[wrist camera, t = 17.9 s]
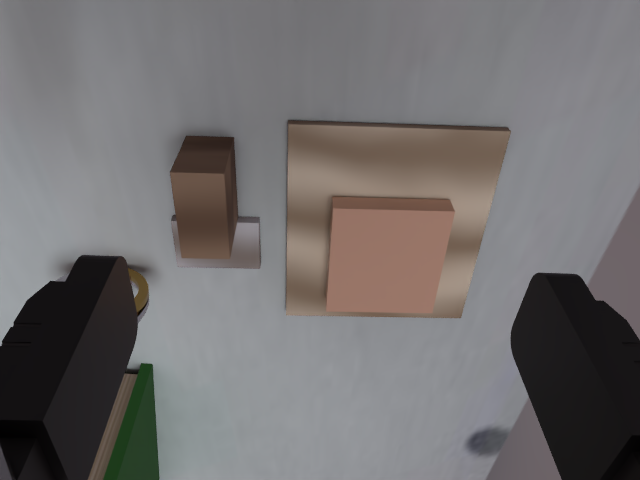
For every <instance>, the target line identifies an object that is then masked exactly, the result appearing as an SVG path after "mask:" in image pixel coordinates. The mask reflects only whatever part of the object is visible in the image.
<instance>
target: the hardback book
mask: <svg viewBox="0 0 640 480" xmlns="http://www.w3.org/2000/svg"><path fill="white" fill-rule="evenodd" d="M88 480H159V466H158V449H157V432H156V415H155V399H154V382H153V365H152V364H143V363H141V366H140V369H139V372H138V374H124V377H123V380H122V382H121V385H120V388H119V391H118V394H117V397H116V400H115V403H114V406H113V409H112V411H111V414H110V417H109V420H108V423H107V426H106V429H105V432H104V435H103V437H102V440H101V443H100V446H99V449H98V452H97V455H96V458H95V461H94V463H93V466H92V469H91V472H90V475H89V478H88Z"/></svg>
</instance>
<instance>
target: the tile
mask: <svg viewBox="0 0 640 480" xmlns="http://www.w3.org/2000/svg"><path fill="white" fill-rule="evenodd" d="M454 214H455V210H454V208H453V206H452V203H451V201H450V200H436V199H399V198H361V197H332V207H331V222H330V237H329V252H328V267H327V282H326V297H325V299H326V312H384V313H432V312H433V308H434V303H435V299H436V295H437V290H438V286H439V281H440V277H441V272H442V268H443V263H444V259H445V255H446V250H447V246H448V241H449V237H450V232H451V228H452V223H453V219H454Z"/></svg>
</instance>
